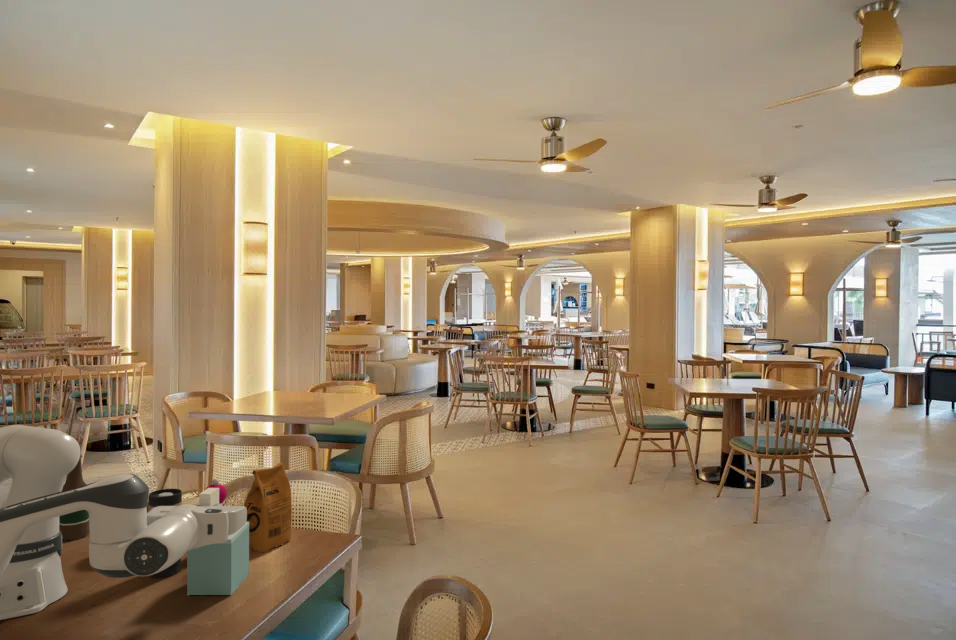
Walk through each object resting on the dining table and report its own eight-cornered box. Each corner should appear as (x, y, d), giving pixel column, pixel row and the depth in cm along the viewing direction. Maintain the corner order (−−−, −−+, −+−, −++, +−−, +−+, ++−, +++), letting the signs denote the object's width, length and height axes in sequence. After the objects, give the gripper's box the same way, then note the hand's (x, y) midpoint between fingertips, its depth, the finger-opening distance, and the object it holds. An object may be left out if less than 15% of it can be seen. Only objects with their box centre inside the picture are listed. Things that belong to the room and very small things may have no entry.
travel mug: (140, 575, 151) (140, 495, 151) (165, 564, 158) (166, 487, 158) (163, 580, 148) (164, 498, 148) (188, 568, 155) (189, 490, 155)
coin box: (231, 595, 141) (231, 539, 140) (187, 595, 140) (187, 539, 140) (248, 573, 152) (249, 521, 152) (208, 573, 152) (208, 521, 152)
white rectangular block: (210, 534, 136) (210, 493, 136) (198, 534, 136) (199, 493, 136) (218, 526, 141) (219, 487, 141) (208, 526, 141) (208, 487, 141)
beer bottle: (72, 531, 181) (73, 450, 181) (96, 532, 180) (96, 451, 180) (51, 540, 174) (51, 456, 174) (75, 542, 173) (75, 457, 173)
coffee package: (236, 548, 169) (237, 469, 169) (271, 534, 180) (272, 460, 180) (261, 555, 164) (262, 473, 164) (296, 540, 175) (296, 464, 175)
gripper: (132, 542, 125) (164, 520, 139) (232, 542, 126) (255, 520, 140) (132, 512, 125) (165, 493, 139) (233, 512, 126) (255, 493, 140)
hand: (210, 506), depth 140 cm, fingers closed on white rectangular block, 2 cm apart
